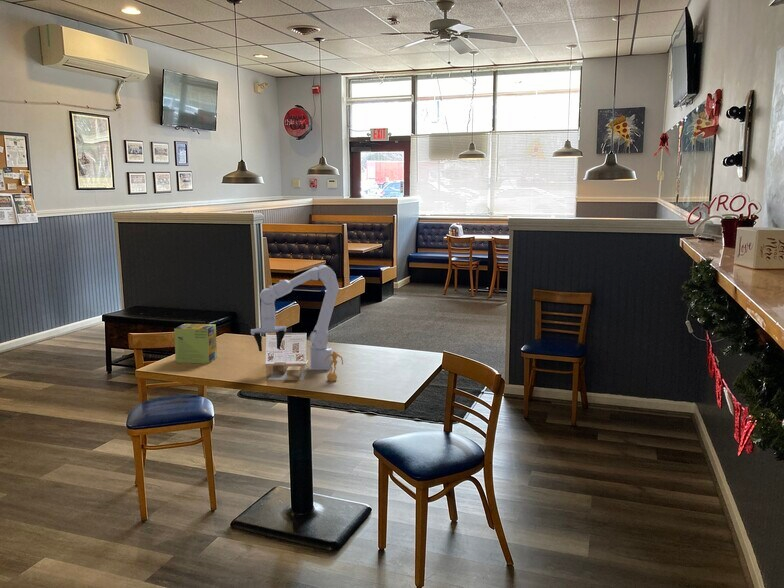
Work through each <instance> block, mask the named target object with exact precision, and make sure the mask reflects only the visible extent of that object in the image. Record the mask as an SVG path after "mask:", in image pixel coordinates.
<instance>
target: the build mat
mask: <svg viewBox="0 0 784 588" xmlns="http://www.w3.org/2000/svg"><path fill="white" fill-rule="evenodd" d="M307 373H308V371H307V370H306V371H304V370H301V377H300V379H299V380H298V381H304V379H305V377H306V375H307ZM267 381H288V380H287V370H286V373H285V374H284V375H273V372H272V373H271V374H270V375H269V377H268V378H267Z"/></svg>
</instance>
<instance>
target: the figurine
mask: <svg viewBox="0 0 784 588" xmlns="http://www.w3.org/2000/svg"><path fill="white" fill-rule="evenodd" d="M329 356H332V359H333V361H332V360H331V363H330V367H331V370H330V371H329V372H328V373H327V374H326V375H327V376H326V379H327V380H328V381H329V382H336V380H337V379H338V375H337V373H336V371H337V369H336V368H337V363H338V360H337V358H341V359H340V360H341V366H343V365H344V360H343V357H342V355H340V354H339V353H338V352H337V351H333V350H332V354H330V355H328V356H327V358H328V357H329ZM327 358H326V359H325V360H327ZM324 363H325V361H324ZM333 368H334V369H333Z"/></svg>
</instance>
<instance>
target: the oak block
mask: <svg viewBox="0 0 784 588" xmlns="http://www.w3.org/2000/svg"><path fill="white" fill-rule="evenodd" d="M286 371H287V380H286V381H300V380H299V379H300V377H301V371H302V366H296V365H295V366H292V365H291V366H289V365H288V367H286Z"/></svg>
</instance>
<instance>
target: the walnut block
mask: <svg viewBox="0 0 784 588" xmlns="http://www.w3.org/2000/svg"><path fill="white" fill-rule="evenodd" d="M286 371H287V362H286V361H285V362H282V361H281V362H280V361H278V362H277V361H276V362H275V361H274V363H273V365H272V373H273V375H284V374H285V373H286Z"/></svg>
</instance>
